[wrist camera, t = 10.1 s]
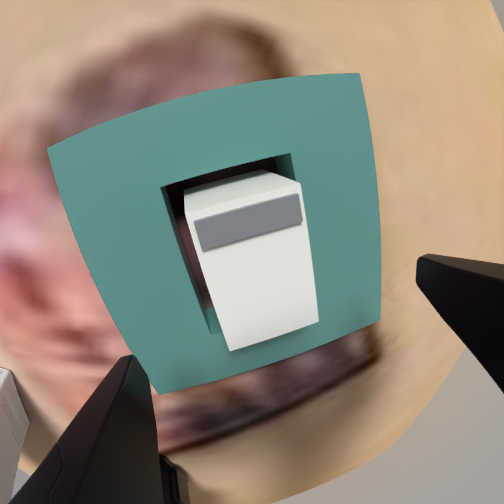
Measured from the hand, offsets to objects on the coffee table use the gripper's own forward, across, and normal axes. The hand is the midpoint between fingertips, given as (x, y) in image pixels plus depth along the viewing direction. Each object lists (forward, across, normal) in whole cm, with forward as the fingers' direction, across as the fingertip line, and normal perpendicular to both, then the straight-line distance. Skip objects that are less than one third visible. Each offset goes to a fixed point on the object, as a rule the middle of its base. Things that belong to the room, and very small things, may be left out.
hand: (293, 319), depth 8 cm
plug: (+8, 0, 0) cm, 8 cm away
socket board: (+8, 0, 0) cm, 8 cm away
